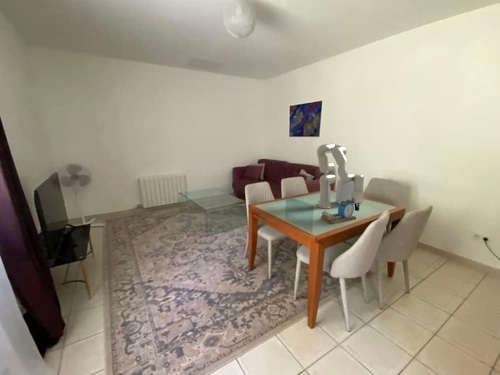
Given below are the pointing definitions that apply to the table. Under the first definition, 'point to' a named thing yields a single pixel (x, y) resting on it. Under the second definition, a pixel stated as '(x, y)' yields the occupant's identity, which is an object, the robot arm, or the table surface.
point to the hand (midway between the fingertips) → (356, 210)
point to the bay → (344, 219)
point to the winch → (328, 217)
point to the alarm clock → (346, 209)
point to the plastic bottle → (343, 191)
